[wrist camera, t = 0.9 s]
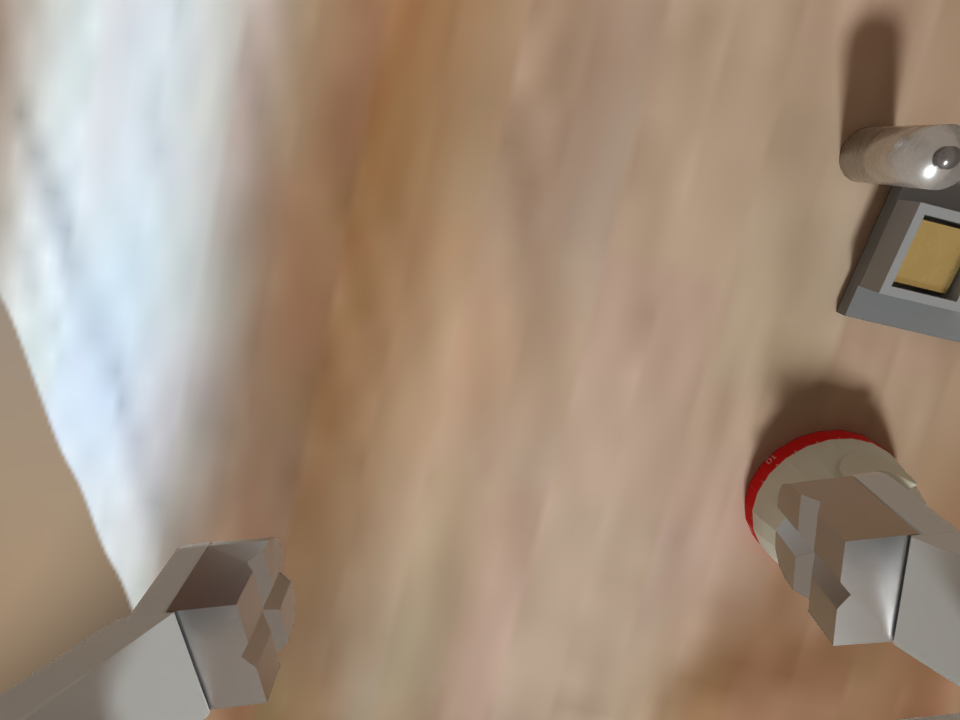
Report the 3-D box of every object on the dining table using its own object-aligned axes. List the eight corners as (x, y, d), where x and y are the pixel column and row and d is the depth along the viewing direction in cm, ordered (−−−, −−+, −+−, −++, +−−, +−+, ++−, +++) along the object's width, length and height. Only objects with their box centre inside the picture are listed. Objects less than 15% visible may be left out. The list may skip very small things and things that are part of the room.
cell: (853, 121, 45) (936, 116, 37) (901, 134, 46) (994, 132, 38) (830, 175, 47) (907, 182, 39) (878, 187, 47) (963, 197, 39)
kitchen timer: (766, 423, 54) (872, 523, 40) (914, 435, 55) (1069, 538, 41) (729, 553, 59) (812, 683, 45) (866, 562, 59) (990, 694, 45)
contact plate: (913, 217, 46) (918, 218, 45) (969, 231, 46) (976, 233, 46) (884, 278, 47) (889, 280, 47) (940, 292, 48) (945, 293, 47)
